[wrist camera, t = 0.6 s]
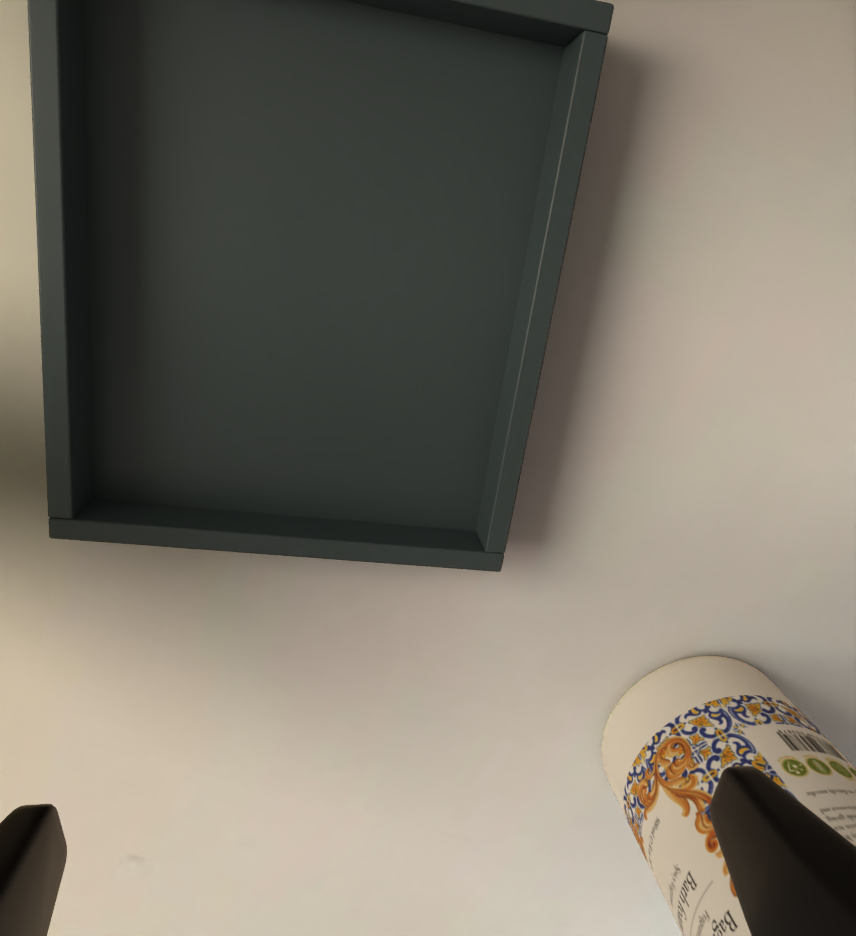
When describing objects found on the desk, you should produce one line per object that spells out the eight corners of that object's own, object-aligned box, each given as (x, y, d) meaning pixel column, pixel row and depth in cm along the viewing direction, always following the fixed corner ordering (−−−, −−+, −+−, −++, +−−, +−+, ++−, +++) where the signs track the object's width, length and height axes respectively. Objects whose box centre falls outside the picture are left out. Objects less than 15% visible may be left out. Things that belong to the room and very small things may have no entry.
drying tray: (486, 541, 21) (501, 573, 19) (78, 507, 19) (48, 538, 17) (583, 31, 17) (615, 3, 15) (64, -81, 15) (20, -130, 13)
